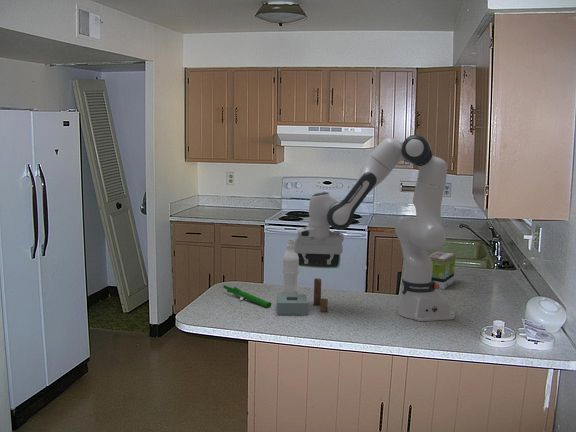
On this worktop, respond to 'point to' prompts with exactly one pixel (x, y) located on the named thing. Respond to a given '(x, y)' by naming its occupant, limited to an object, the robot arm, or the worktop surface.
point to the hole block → (292, 304)
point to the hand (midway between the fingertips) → (317, 263)
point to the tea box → (442, 268)
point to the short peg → (323, 305)
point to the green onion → (247, 296)
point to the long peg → (317, 291)
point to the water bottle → (290, 269)
